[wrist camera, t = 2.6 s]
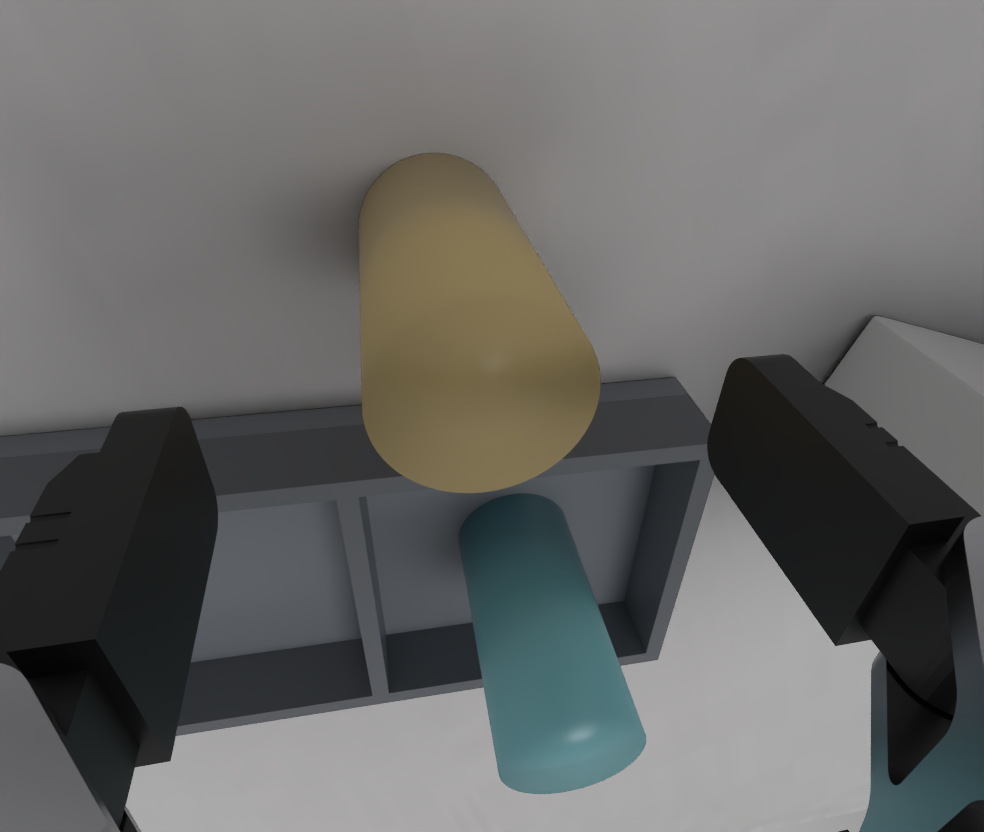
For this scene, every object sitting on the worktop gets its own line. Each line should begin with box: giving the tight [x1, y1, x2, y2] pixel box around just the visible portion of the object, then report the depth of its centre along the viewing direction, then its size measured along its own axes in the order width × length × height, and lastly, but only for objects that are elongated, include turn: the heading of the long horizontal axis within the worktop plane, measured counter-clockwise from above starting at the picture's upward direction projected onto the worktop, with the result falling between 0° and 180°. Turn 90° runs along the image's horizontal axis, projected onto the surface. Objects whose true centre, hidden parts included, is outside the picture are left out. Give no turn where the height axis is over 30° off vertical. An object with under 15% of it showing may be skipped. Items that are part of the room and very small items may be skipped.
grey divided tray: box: [0, 377, 714, 736], centre depth 21 cm, size 22×11×4 cm, turn 89°
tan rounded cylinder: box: [359, 153, 601, 493], centre depth 14 cm, size 4×4×8 cm
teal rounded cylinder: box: [459, 493, 646, 794], centre depth 20 cm, size 4×4×8 cm
